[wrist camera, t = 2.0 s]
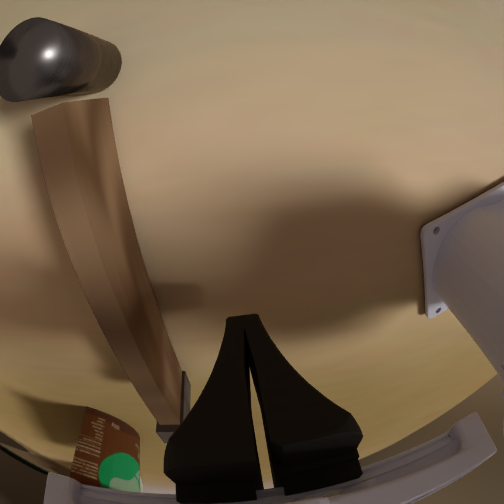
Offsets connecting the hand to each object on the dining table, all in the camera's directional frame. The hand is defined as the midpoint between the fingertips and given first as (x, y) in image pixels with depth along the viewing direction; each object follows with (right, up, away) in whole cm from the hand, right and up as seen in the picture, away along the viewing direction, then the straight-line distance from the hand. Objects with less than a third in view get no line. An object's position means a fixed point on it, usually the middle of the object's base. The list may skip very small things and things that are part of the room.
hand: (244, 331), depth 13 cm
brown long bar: (-5, +2, +1) cm, 6 cm away
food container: (-13, -14, +10) cm, 22 cm away
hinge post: (-6, +11, -4) cm, 13 cm away
